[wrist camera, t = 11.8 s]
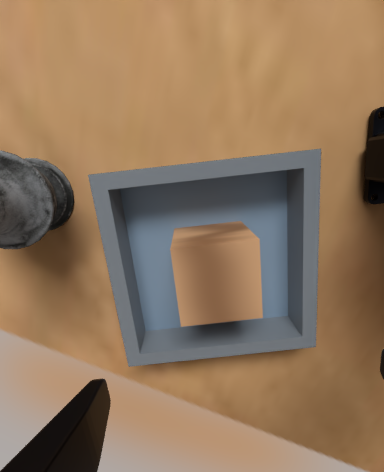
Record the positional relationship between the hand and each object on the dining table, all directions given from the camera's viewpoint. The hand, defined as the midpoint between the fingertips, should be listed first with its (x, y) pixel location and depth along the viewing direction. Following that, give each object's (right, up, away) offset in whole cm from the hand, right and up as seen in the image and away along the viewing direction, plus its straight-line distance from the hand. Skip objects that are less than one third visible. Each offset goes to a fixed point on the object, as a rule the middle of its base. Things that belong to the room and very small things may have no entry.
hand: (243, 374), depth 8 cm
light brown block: (0, +3, +11) cm, 12 cm away
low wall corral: (0, +3, +12) cm, 12 cm away
